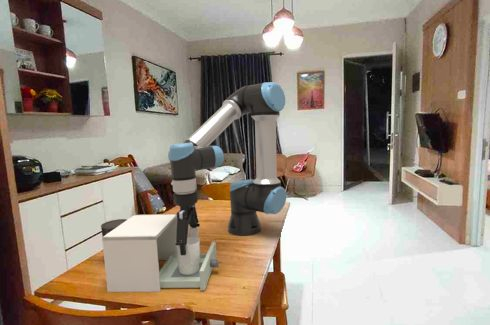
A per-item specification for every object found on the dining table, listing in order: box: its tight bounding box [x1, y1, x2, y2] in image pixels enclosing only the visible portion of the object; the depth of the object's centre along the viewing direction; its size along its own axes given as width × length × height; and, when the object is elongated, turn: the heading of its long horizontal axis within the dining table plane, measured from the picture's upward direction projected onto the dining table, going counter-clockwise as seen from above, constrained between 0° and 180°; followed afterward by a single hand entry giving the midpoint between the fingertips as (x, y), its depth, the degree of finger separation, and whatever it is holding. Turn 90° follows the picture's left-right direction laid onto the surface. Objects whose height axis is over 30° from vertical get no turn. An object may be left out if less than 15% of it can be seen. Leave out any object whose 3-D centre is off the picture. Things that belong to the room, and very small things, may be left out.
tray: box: [159, 241, 219, 291], centre depth 101 cm, size 19×23×6 cm
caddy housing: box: [101, 213, 177, 293], centre depth 101 cm, size 16×23×17 cm
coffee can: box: [100, 218, 129, 238], centre depth 113 cm, size 10×10×14 cm
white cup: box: [175, 236, 201, 275], centre depth 100 cm, size 8×8×10 cm
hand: (190, 254), depth 101 cm, fingers open, 13 cm apart
